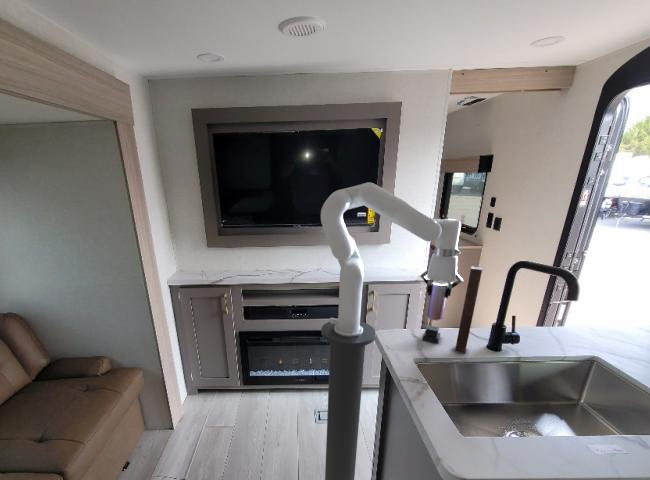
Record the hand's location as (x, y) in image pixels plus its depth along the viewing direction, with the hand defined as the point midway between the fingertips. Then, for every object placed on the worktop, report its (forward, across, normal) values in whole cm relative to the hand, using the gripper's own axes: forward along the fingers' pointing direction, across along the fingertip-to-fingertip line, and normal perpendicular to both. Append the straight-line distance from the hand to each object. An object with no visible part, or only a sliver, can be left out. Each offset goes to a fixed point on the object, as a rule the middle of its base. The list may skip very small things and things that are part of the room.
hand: (438, 295), depth 131 cm
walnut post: (+20, -12, +4) cm, 23 cm away
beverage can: (+10, 0, 0) cm, 10 cm away
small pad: (+18, 0, 0) cm, 18 cm away
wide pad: (+20, 0, 0) cm, 20 cm away
